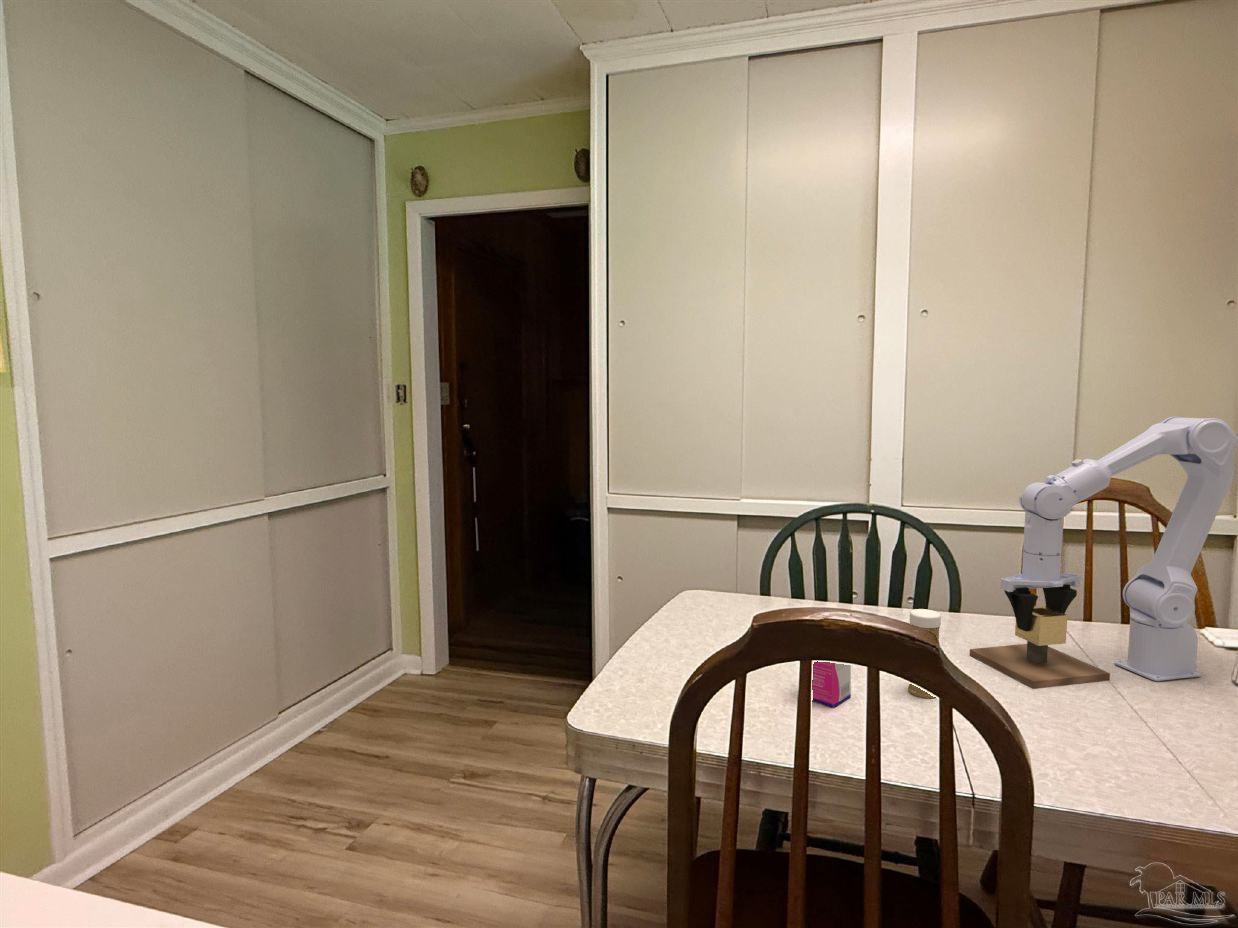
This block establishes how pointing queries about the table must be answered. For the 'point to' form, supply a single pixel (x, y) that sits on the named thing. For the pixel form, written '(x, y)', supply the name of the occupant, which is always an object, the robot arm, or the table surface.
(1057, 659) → the post stand
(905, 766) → the table surface
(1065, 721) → the table surface
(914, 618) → the sprinkles bottle
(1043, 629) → the small tan open box
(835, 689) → the supplement box
